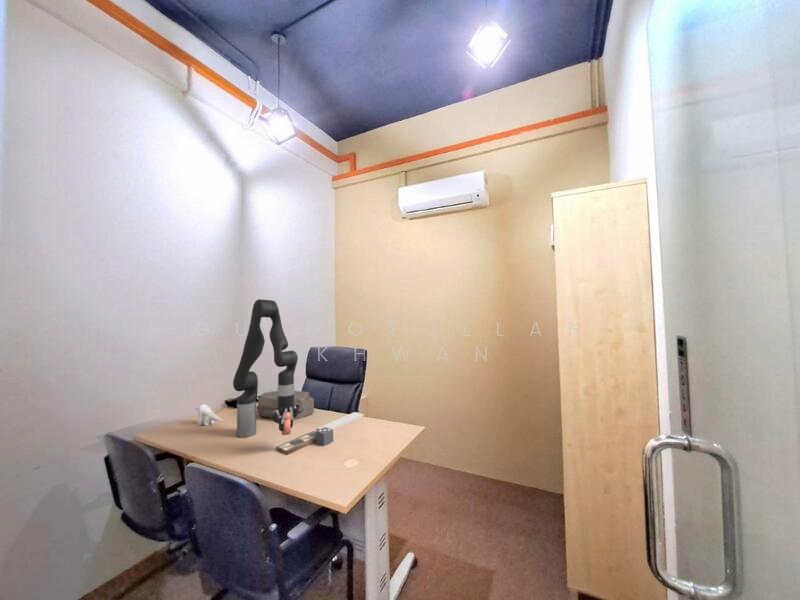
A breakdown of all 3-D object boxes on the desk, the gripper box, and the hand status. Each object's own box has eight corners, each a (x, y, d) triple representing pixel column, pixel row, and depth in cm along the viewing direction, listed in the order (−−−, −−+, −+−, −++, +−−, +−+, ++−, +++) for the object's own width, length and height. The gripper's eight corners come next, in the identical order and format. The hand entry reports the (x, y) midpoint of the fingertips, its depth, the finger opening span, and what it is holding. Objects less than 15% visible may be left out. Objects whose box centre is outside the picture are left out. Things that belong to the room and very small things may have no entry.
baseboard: (314, 429, 169) (326, 433, 163) (314, 424, 169) (326, 428, 163) (351, 413, 194) (363, 416, 188) (351, 409, 194) (363, 411, 188)
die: (315, 443, 151) (315, 430, 151) (325, 438, 155) (325, 426, 156) (324, 446, 147) (323, 433, 147) (333, 441, 152) (333, 429, 152)
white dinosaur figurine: (198, 418, 187) (200, 400, 186) (227, 427, 178) (229, 408, 178) (187, 422, 180) (189, 404, 180) (217, 431, 172) (218, 412, 172)
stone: (323, 409, 200) (321, 386, 200) (295, 425, 176) (293, 399, 176) (279, 406, 214) (277, 385, 214) (248, 421, 189) (246, 397, 189)
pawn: (278, 433, 144) (278, 411, 144) (287, 430, 147) (287, 408, 148) (284, 436, 141) (284, 413, 141) (293, 433, 145) (293, 410, 145)
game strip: (276, 449, 144) (276, 446, 144) (313, 433, 162) (313, 430, 162) (287, 454, 139) (287, 451, 139) (324, 437, 157) (324, 434, 157)
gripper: (294, 388, 152) (294, 422, 152) (267, 395, 141) (267, 432, 141) (303, 390, 148) (303, 426, 148) (276, 398, 137) (276, 436, 136)
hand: (285, 429), depth 144 cm, fingers closed on pawn, 4 cm apart
